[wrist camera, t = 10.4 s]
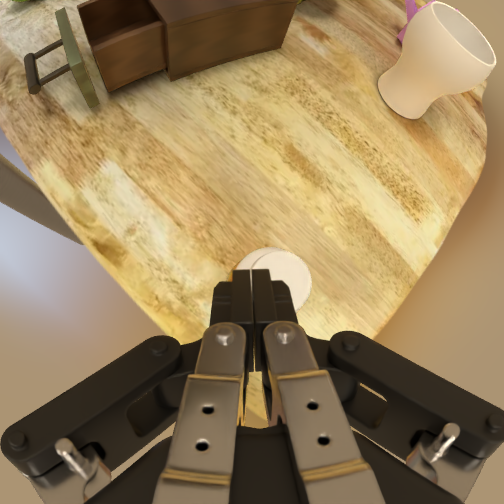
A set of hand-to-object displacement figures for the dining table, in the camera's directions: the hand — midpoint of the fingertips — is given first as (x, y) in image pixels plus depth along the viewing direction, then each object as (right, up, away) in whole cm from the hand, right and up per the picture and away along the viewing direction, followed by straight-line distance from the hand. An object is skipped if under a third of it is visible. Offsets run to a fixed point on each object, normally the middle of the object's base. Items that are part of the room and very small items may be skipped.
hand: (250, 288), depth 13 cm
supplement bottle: (0, -2, +16) cm, 16 cm away
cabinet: (-6, +29, +19) cm, 35 cm away
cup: (+20, +23, +23) cm, 38 cm away
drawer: (-16, +23, +16) cm, 33 cm away
